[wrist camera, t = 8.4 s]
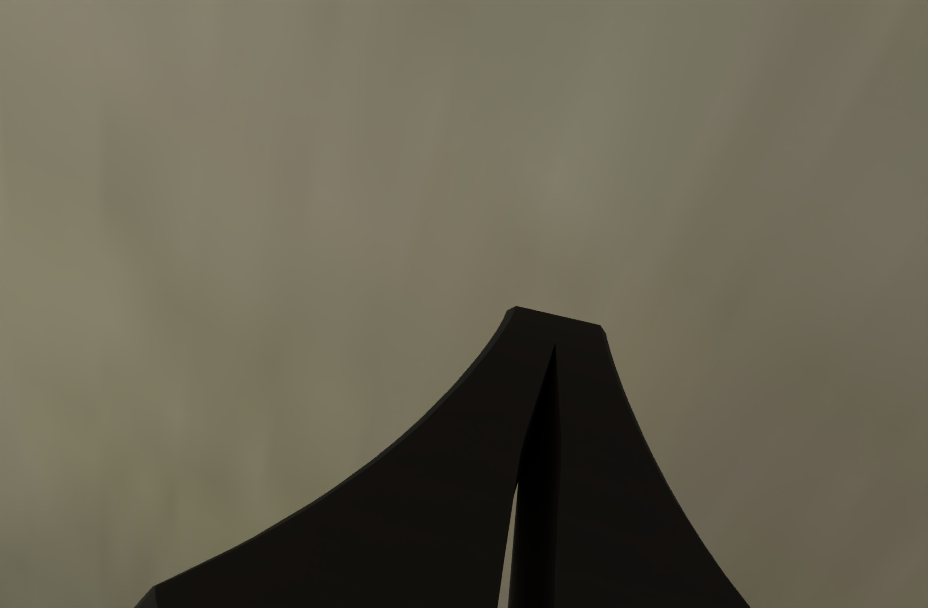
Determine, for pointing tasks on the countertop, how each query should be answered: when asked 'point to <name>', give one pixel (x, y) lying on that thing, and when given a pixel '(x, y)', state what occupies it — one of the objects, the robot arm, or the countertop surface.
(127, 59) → the countertop surface
